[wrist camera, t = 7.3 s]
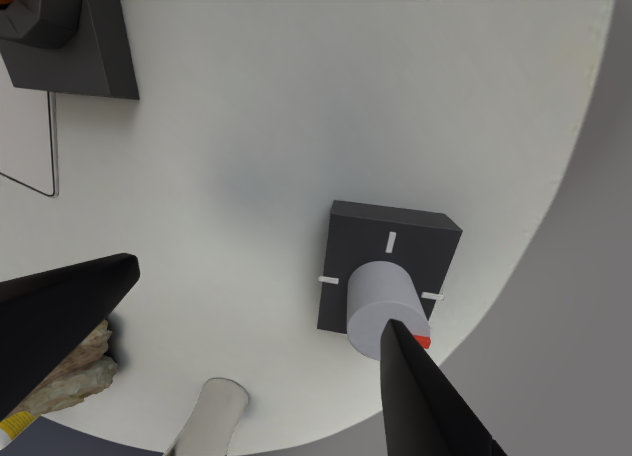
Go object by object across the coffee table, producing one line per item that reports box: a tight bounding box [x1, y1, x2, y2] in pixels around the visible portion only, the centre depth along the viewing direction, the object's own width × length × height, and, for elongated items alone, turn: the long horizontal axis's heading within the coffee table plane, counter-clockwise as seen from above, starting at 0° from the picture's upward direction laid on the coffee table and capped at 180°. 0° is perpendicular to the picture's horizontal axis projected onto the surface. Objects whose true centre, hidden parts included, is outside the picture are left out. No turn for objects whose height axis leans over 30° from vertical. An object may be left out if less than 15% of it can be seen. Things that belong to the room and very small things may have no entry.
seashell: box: [4, 319, 118, 420], centre depth 25 cm, size 11×15×10 cm
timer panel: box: [317, 200, 463, 334], centre depth 18 cm, size 10×9×3 cm
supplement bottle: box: [0, 411, 41, 450], centre depth 29 cm, size 5×5×10 cm
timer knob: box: [347, 261, 431, 360], centre depth 14 cm, size 4×4×4 cm
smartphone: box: [0, 53, 59, 197], centre depth 18 cm, size 7×1×15 cm
